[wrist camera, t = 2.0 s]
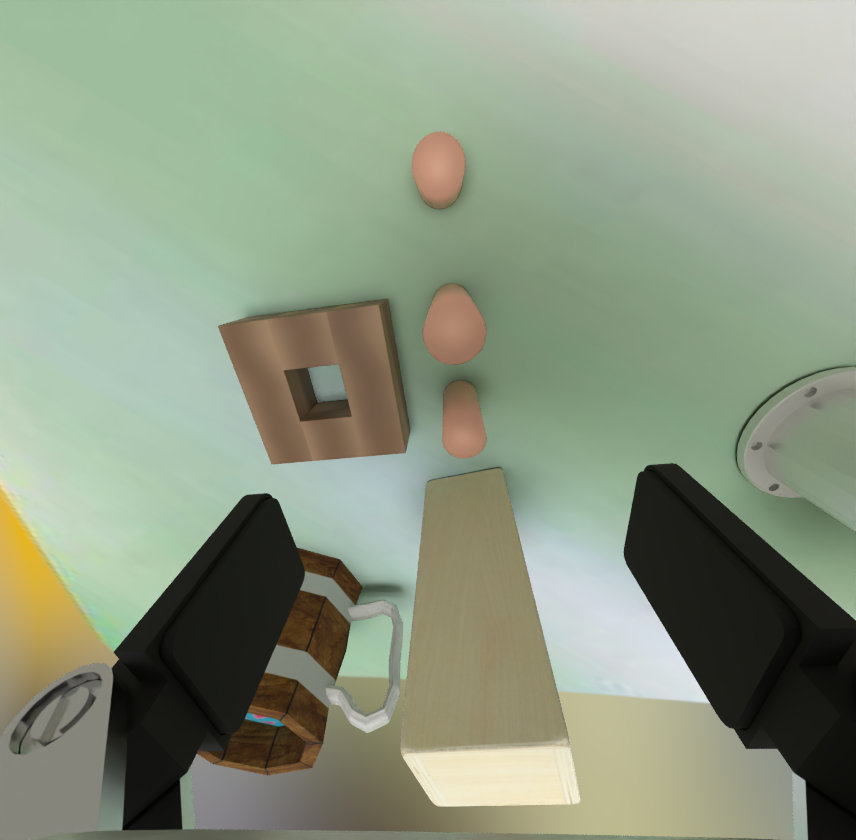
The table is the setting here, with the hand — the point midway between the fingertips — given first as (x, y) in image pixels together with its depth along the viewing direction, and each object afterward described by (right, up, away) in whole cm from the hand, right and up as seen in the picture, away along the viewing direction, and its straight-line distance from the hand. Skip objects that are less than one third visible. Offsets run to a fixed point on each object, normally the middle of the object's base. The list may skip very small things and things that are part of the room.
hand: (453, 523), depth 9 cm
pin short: (0, +19, +14) cm, 24 cm away
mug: (-13, -18, +33) cm, 40 cm away
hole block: (-9, +7, +21) cm, 24 cm away
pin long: (+1, +12, +18) cm, 22 cm away
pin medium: (+2, +5, +21) cm, 22 cm away
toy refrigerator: (+4, -6, +26) cm, 27 cm away
